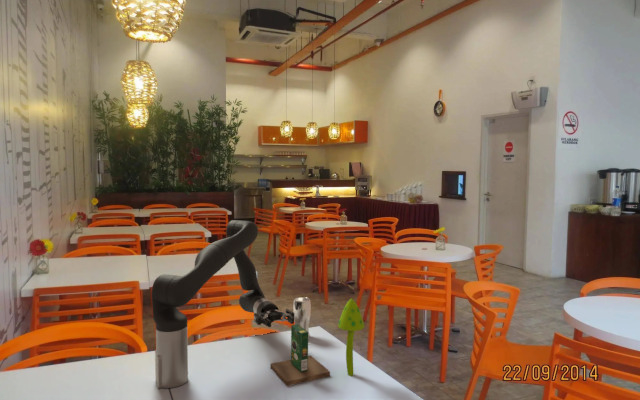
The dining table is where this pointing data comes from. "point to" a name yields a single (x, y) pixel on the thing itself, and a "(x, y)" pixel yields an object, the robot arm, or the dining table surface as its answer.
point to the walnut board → (294, 376)
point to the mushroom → (350, 329)
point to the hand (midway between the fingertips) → (281, 322)
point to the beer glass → (302, 312)
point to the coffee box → (299, 347)
